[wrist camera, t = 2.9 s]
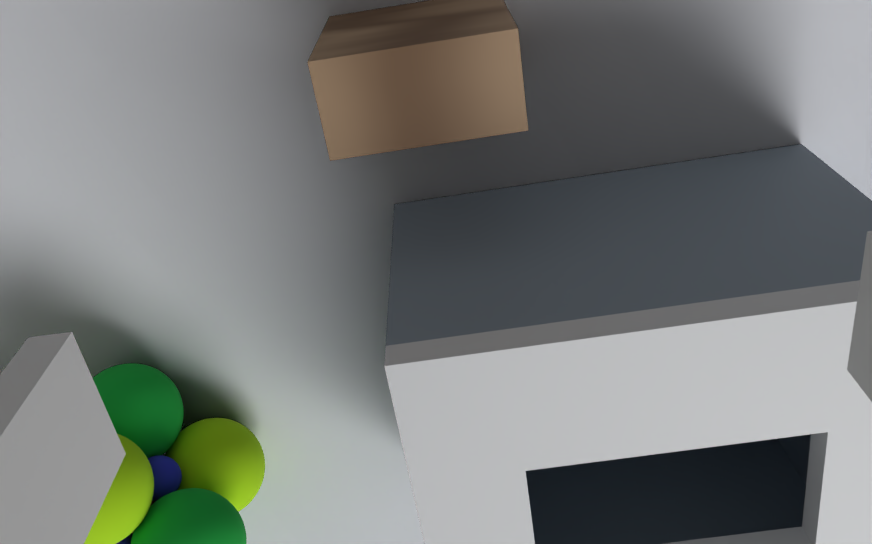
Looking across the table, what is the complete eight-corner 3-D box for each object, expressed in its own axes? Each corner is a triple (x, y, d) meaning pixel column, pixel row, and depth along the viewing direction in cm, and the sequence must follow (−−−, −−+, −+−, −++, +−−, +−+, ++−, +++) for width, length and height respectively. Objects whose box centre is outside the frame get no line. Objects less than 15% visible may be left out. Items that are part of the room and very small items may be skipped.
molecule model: (182, 532, 40) (291, 433, 37) (126, 697, 33) (257, 589, 30) (26, 441, 37) (130, 325, 34) (-77, 600, 30) (46, 468, 27)
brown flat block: (346, 98, 30) (330, 160, 24) (329, 16, 28) (307, 61, 23) (506, 73, 29) (528, 130, 24) (497, -11, 28) (518, 28, 22)
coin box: (445, 466, 38) (454, 678, 29) (394, 204, 32) (384, 366, 22) (780, 423, 38) (906, 626, 28) (801, 143, 31) (975, 285, 21)
